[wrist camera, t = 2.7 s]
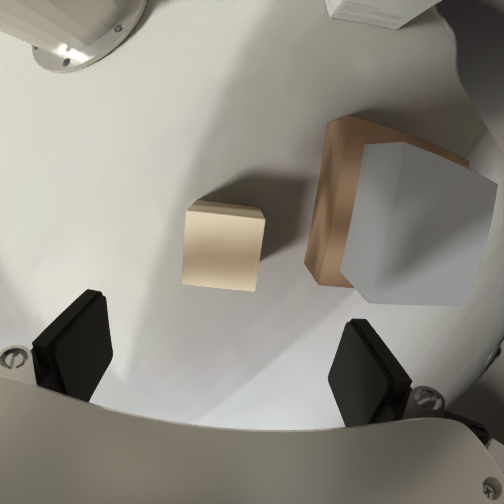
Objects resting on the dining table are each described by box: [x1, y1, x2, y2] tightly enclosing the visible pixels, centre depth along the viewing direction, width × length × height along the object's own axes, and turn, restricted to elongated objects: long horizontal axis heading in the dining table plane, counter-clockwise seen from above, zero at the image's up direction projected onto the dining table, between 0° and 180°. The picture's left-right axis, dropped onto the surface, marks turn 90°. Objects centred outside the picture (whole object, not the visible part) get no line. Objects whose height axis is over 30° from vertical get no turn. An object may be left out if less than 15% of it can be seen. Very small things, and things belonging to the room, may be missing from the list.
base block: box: [304, 115, 469, 288], centre depth 21 cm, size 12×12×5 cm
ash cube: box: [182, 200, 265, 291], centre depth 21 cm, size 5×5×5 cm
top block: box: [340, 142, 498, 306], centre depth 16 cm, size 9×9×5 cm
